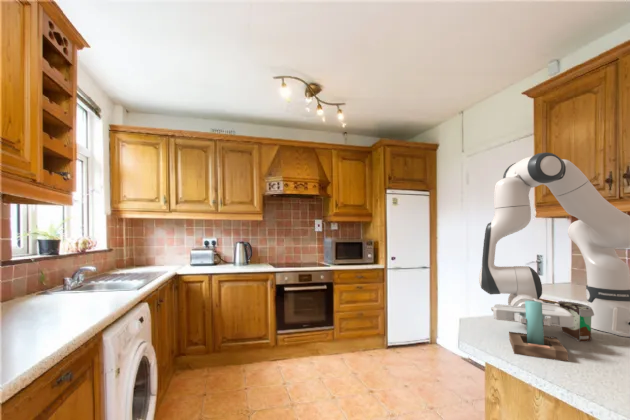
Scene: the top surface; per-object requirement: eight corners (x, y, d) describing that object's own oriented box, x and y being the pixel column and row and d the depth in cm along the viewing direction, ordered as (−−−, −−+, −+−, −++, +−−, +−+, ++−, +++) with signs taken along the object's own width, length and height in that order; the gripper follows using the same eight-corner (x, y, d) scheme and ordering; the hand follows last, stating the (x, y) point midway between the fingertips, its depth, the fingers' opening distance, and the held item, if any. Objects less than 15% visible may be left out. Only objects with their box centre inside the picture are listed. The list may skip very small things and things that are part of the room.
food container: (606, 344, 92) (604, 310, 92) (582, 343, 93) (580, 309, 93) (579, 331, 104) (577, 301, 104) (559, 330, 105) (557, 300, 105)
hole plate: (556, 345, 91) (556, 336, 91) (568, 361, 80) (567, 351, 80) (509, 339, 96) (508, 331, 96) (514, 353, 85) (513, 343, 86)
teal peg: (542, 343, 89) (540, 301, 90) (545, 347, 85) (543, 304, 86) (526, 340, 91) (524, 300, 92) (528, 345, 87) (526, 303, 88)
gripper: (490, 298, 105) (492, 307, 93) (564, 304, 96) (578, 315, 83) (491, 316, 105) (493, 328, 92) (566, 324, 95) (580, 338, 83)
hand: (534, 322), depth 88 cm, fingers closed on teal peg, 4 cm apart
